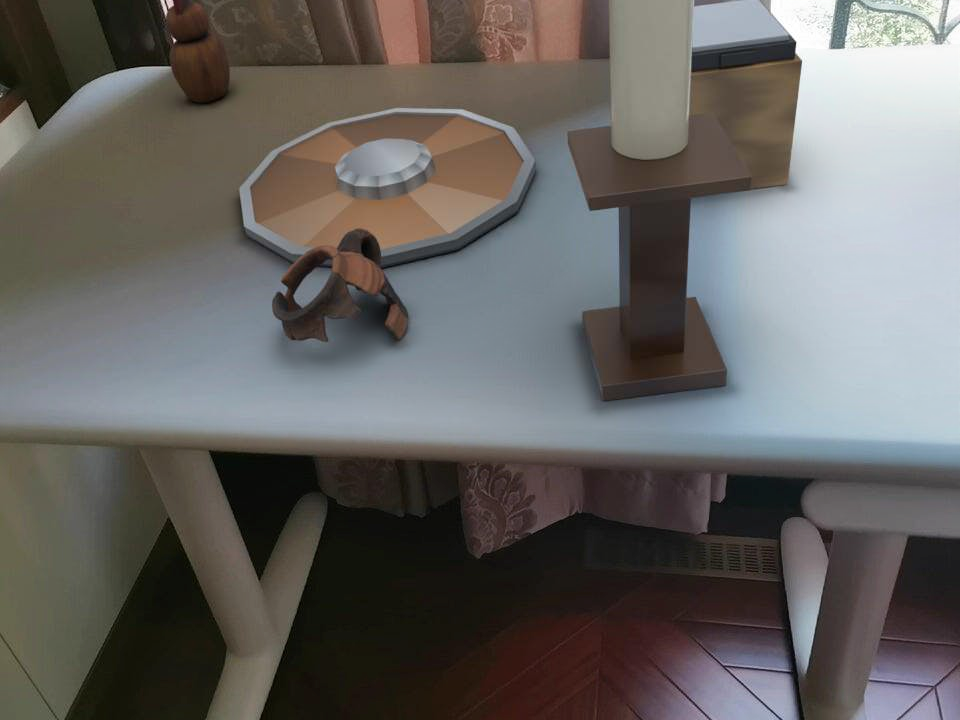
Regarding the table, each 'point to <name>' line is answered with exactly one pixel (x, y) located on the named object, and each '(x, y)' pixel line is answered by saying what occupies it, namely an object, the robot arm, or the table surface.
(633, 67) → the cream pillar candle
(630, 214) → the stand
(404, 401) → the table surface
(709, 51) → the scale
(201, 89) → the wooden figurine
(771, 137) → the crate
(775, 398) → the table surface
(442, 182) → the shield
